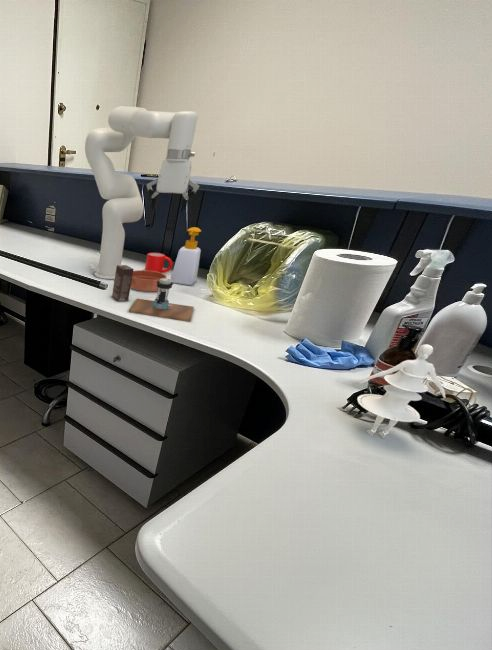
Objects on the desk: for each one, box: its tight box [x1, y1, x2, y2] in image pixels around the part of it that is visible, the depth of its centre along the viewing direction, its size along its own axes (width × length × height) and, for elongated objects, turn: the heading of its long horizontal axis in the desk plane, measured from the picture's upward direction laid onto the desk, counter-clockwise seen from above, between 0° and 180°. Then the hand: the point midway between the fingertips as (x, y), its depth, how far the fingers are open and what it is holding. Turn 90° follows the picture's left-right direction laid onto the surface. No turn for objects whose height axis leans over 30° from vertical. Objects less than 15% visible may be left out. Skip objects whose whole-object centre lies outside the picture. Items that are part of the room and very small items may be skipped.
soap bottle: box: [169, 226, 202, 286], centre depth 167 cm, size 10×14×22 cm
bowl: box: [130, 269, 168, 293], centre depth 166 cm, size 15×15×5 cm
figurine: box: [356, 343, 446, 440], centre depth 77 cm, size 13×10×20 cm
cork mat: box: [128, 298, 194, 322], centre depth 143 cm, size 20×14×1 cm
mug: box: [144, 252, 173, 274], centre depth 185 cm, size 8×12×8 cm, turn 57°
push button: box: [153, 277, 174, 309], centre depth 140 cm, size 7×5×10 cm
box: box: [111, 264, 135, 302], centre depth 151 cm, size 6×4×12 cm
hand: (167, 210), depth 144 cm, fingers open, 9 cm apart
